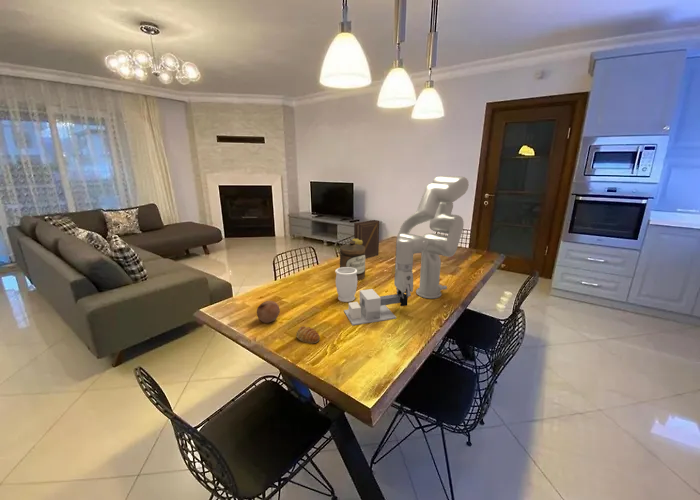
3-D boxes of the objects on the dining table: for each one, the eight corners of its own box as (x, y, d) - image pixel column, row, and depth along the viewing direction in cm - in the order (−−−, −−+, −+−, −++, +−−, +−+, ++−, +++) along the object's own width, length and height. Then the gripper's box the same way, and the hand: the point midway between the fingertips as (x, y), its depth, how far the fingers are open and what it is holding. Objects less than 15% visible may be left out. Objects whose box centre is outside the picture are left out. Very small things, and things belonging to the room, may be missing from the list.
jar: (338, 304, 146) (338, 275, 141) (333, 295, 155) (333, 267, 151) (359, 301, 148) (360, 272, 144) (353, 293, 158) (354, 265, 154)
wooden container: (350, 283, 171) (350, 245, 165) (334, 275, 182) (334, 240, 176) (370, 277, 180) (370, 241, 174) (353, 270, 191) (354, 236, 185)
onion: (263, 331, 128) (252, 316, 123) (262, 315, 136) (251, 300, 130) (284, 322, 129) (274, 306, 123) (282, 307, 137) (272, 291, 131)
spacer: (357, 301, 136) (348, 302, 135) (361, 307, 130) (352, 308, 129) (357, 311, 137) (348, 312, 136) (361, 318, 132) (352, 319, 131)
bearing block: (384, 305, 145) (385, 285, 142) (396, 318, 133) (397, 297, 130) (343, 311, 139) (343, 291, 136) (352, 325, 127) (352, 303, 124)
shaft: (403, 299, 141) (403, 293, 140) (406, 301, 138) (406, 295, 137) (362, 304, 135) (362, 298, 134) (364, 307, 132) (365, 301, 131)
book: (372, 252, 228) (373, 219, 221) (380, 255, 222) (381, 221, 214) (349, 258, 214) (349, 223, 207) (357, 261, 208) (358, 225, 201)
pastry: (324, 338, 118) (323, 329, 117) (312, 347, 113) (312, 338, 112) (305, 331, 123) (305, 322, 122) (294, 339, 118) (293, 330, 117)
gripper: (420, 271, 128) (418, 310, 133) (403, 259, 143) (401, 295, 148) (404, 273, 126) (402, 313, 131) (388, 261, 141) (387, 297, 146)
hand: (401, 303), depth 139 cm, fingers closed on shaft, 3 cm apart
